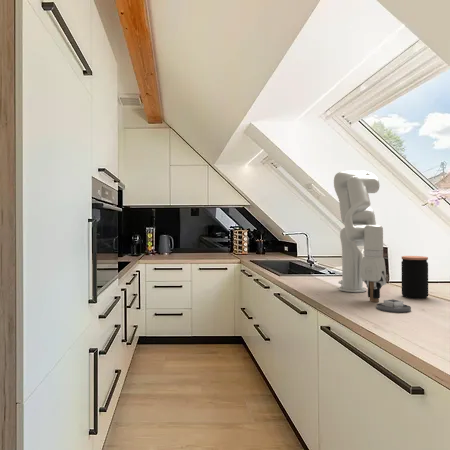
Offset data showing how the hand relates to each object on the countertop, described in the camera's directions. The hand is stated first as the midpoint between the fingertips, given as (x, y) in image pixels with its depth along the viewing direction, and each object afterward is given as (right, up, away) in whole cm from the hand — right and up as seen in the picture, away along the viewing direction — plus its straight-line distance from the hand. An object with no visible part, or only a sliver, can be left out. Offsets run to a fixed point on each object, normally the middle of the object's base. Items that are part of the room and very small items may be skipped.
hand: (373, 297), depth 154 cm
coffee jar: (+22, -2, +9) cm, 24 cm away
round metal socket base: (+2, -2, -14) cm, 14 cm away
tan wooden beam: (0, -2, 0) cm, 2 cm away
